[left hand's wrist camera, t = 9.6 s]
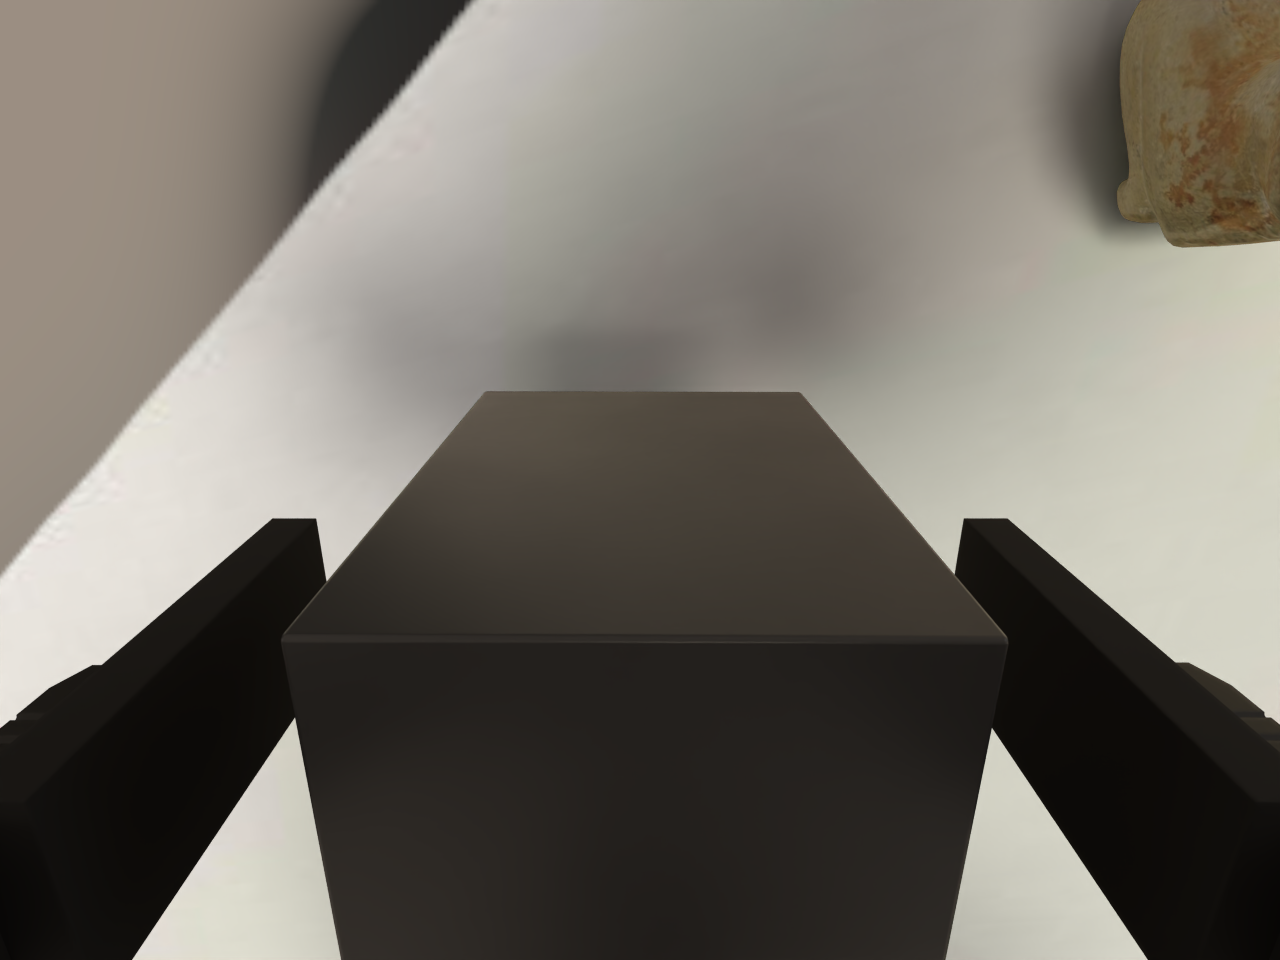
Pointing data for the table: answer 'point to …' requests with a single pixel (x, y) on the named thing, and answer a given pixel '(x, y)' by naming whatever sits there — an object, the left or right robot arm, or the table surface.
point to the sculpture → (1203, 120)
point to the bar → (643, 695)
